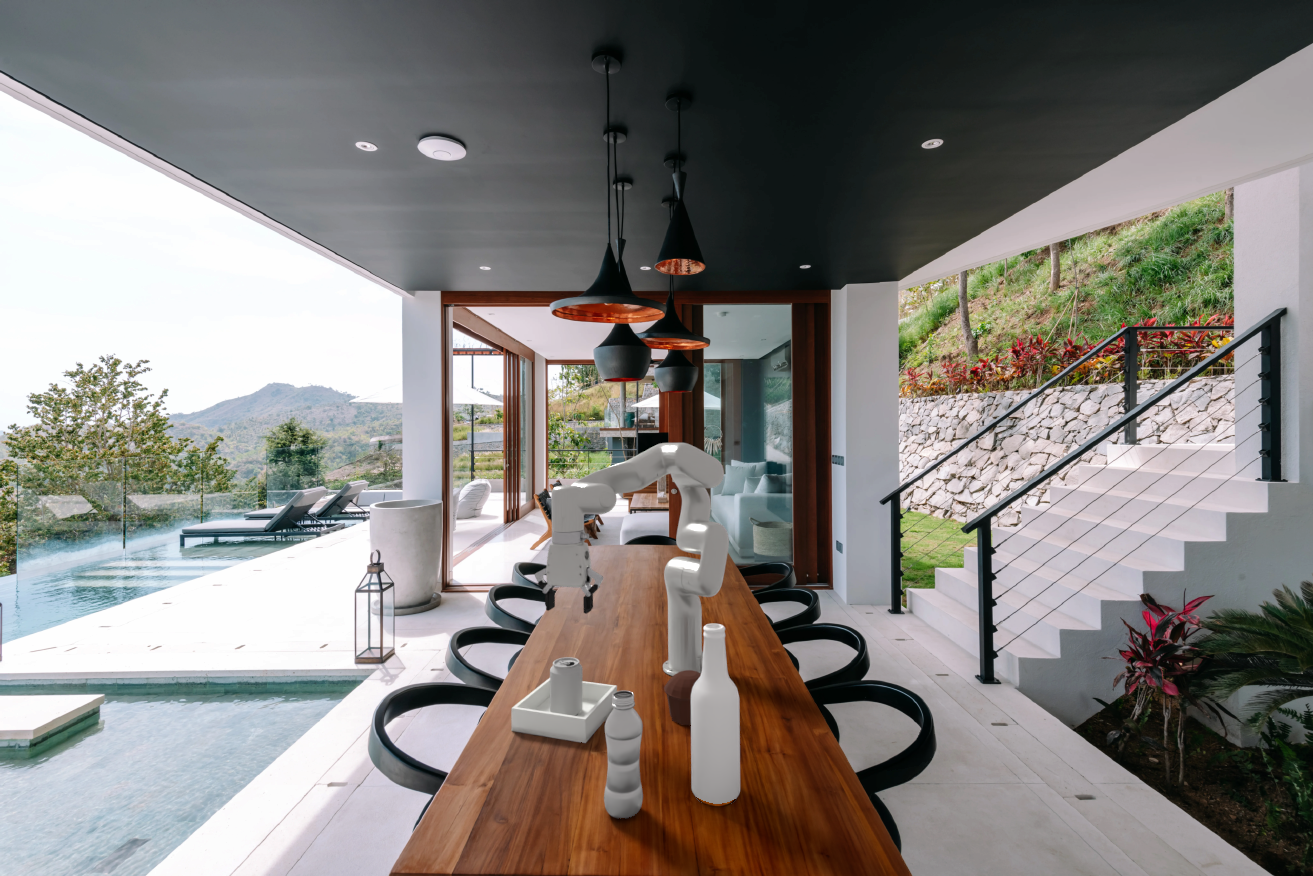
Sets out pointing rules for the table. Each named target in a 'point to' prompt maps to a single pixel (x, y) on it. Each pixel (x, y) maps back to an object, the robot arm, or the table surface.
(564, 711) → the can
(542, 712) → the tote
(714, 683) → the alcohol
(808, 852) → the table surface
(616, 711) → the plastic bottle
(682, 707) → the muffin
